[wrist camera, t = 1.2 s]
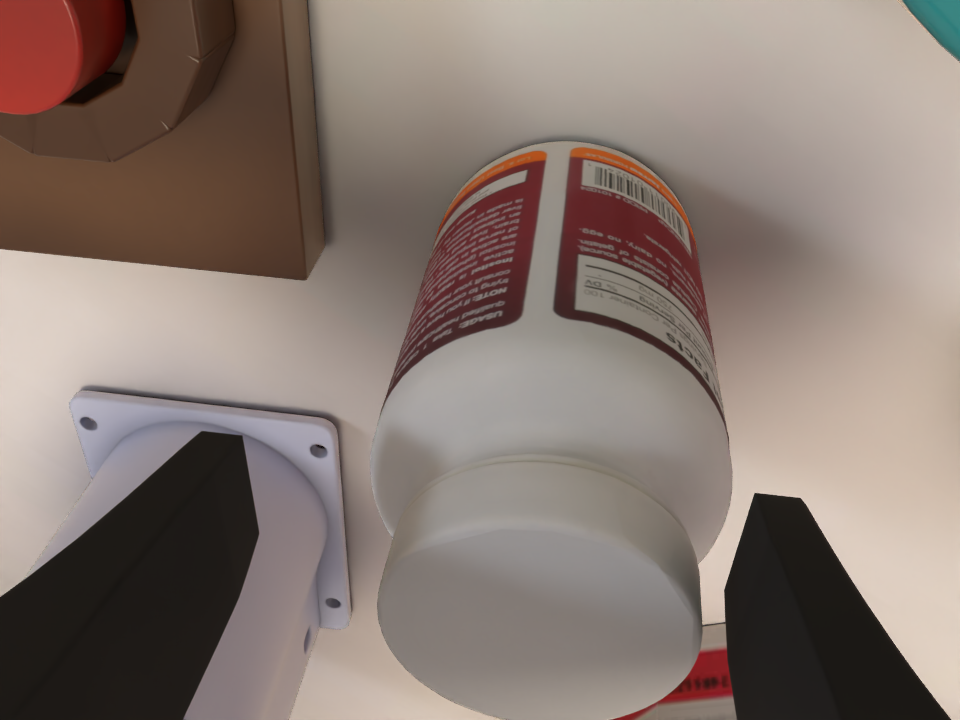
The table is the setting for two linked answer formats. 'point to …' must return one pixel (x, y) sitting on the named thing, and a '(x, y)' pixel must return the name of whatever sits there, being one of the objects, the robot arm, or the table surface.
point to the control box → (178, 147)
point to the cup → (938, 21)
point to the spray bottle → (698, 686)
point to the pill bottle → (553, 444)
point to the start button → (55, 49)
